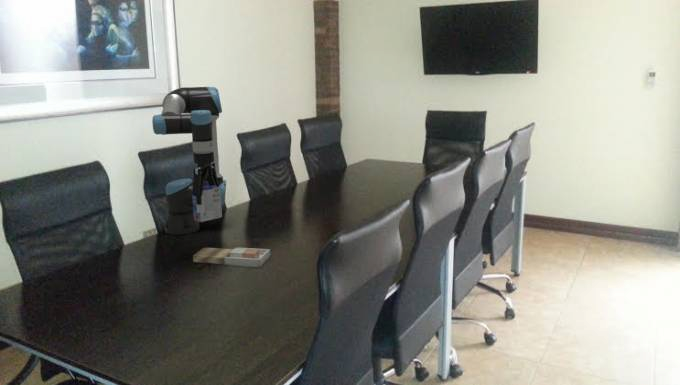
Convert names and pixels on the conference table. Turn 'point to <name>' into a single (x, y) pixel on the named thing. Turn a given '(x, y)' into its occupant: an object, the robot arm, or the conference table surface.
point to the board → (212, 255)
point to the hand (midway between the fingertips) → (207, 208)
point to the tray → (249, 259)
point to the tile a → (237, 253)
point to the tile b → (250, 254)
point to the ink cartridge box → (209, 204)
